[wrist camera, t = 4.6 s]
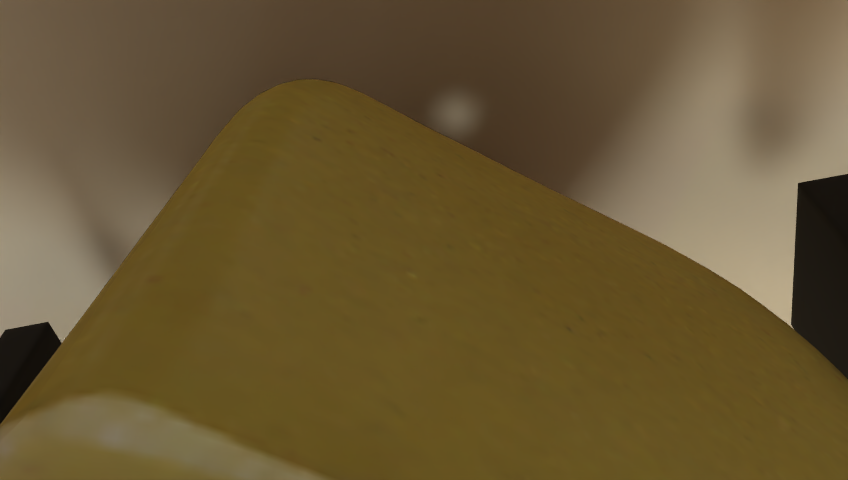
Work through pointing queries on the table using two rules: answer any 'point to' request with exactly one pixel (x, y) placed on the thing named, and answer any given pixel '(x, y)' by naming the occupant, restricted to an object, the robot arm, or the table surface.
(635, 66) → the table surface
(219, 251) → the flower pot
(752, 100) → the table surface
